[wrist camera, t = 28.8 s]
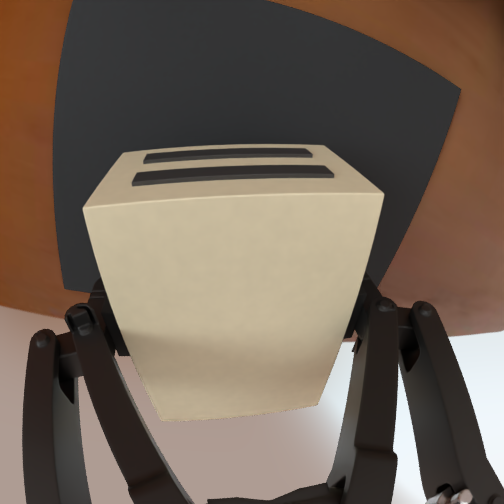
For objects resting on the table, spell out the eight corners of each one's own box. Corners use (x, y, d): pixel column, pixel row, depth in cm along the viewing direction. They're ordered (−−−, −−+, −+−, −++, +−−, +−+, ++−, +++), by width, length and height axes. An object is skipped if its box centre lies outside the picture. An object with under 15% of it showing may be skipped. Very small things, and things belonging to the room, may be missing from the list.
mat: (66, 283, 20) (64, 289, 20) (80, -13, 10) (76, -15, 9) (358, 310, 26) (361, 315, 25) (455, 87, 15) (461, 89, 15)
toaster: (161, 421, 15) (80, 203, 8) (162, 348, 19) (122, 149, 12) (336, 401, 16) (415, 190, 9) (311, 335, 21) (347, 143, 14)
